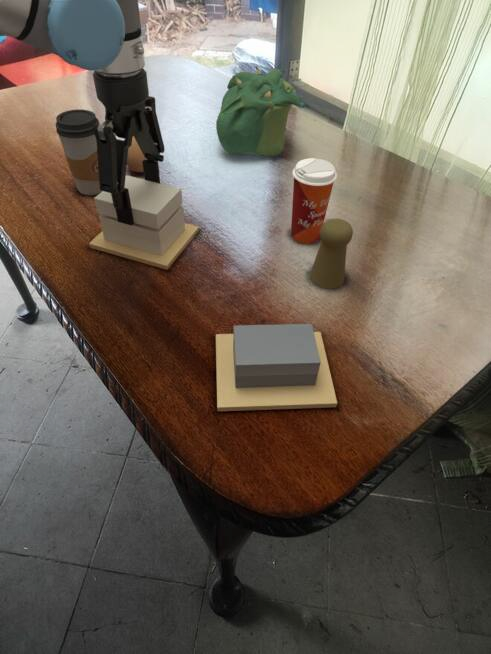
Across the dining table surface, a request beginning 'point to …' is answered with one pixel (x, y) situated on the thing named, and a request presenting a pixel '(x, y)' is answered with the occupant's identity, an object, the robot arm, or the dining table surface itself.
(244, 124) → the decorative sculpture
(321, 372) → the grey stack
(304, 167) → the paper cup
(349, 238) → the pepper shaker
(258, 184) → the dining table surface
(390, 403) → the dining table surface
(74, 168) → the coffee cup
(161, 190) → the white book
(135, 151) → the egg
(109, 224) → the cream box
